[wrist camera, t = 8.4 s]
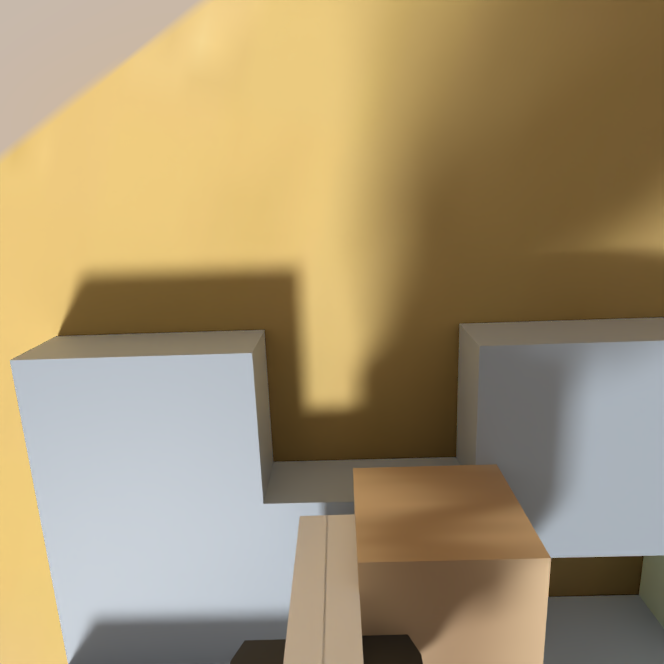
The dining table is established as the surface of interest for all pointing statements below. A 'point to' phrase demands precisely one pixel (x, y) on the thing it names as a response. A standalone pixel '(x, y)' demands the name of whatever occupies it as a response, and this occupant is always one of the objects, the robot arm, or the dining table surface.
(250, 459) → the tray
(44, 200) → the dining table surface
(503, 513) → the oak block
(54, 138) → the dining table surface
